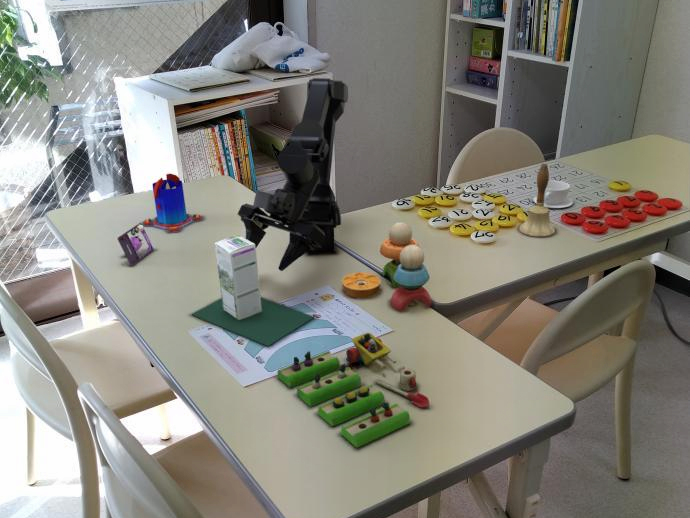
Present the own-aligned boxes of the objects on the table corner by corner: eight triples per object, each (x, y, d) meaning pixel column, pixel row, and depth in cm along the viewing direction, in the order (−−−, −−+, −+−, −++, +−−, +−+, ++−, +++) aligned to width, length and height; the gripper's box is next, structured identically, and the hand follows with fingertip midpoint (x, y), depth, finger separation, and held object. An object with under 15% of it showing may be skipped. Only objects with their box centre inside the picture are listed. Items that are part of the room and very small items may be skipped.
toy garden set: (276, 378, 125) (274, 355, 123) (368, 342, 135) (367, 320, 132) (356, 448, 109) (356, 423, 107) (454, 403, 118) (456, 379, 116)
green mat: (191, 315, 144) (191, 314, 144) (239, 290, 153) (238, 289, 153) (268, 347, 134) (268, 345, 134) (314, 318, 143) (314, 317, 142)
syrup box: (263, 311, 144) (257, 242, 137) (237, 321, 141) (229, 251, 134) (246, 301, 148) (240, 233, 141) (221, 310, 145) (213, 241, 137)
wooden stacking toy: (333, 283, 155) (332, 227, 148) (407, 268, 161) (409, 213, 154) (370, 322, 141) (370, 262, 134) (449, 304, 147) (453, 245, 140)
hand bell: (516, 234, 175) (523, 168, 167) (522, 221, 182) (530, 157, 173) (552, 239, 173) (561, 172, 164) (557, 226, 179) (566, 161, 171)
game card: (120, 237, 160) (143, 221, 168) (102, 241, 163) (125, 226, 170) (134, 265, 163) (156, 248, 170) (116, 269, 165) (138, 253, 173)
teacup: (542, 193, 198) (544, 176, 196) (578, 200, 193) (581, 183, 191) (526, 204, 192) (528, 187, 189) (563, 212, 186) (566, 194, 184)
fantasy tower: (174, 234, 178) (167, 185, 172) (138, 224, 184) (130, 177, 178) (206, 217, 187) (201, 171, 181) (171, 209, 192) (165, 163, 186)
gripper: (239, 163, 144) (204, 235, 143) (313, 182, 135) (276, 259, 133) (269, 190, 154) (237, 258, 152) (341, 210, 144) (306, 282, 143)
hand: (262, 263), depth 145 cm, fingers open, 9 cm apart
